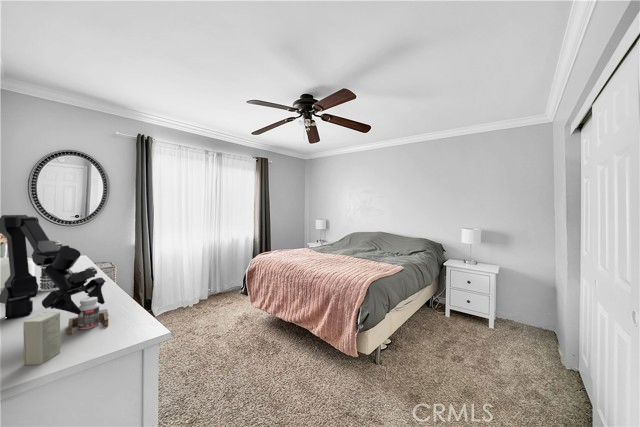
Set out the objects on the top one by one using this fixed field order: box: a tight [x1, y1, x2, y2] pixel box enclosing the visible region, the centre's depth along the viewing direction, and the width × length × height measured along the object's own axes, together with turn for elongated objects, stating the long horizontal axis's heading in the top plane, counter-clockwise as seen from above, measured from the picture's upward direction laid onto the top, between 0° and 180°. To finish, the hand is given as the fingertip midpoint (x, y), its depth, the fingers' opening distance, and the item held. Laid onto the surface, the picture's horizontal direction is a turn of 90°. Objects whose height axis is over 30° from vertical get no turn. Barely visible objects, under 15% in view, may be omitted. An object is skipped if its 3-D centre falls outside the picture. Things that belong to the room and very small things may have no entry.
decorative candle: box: [39, 239, 63, 292], centre depth 133 cm, size 9×9×25 cm
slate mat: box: [99, 308, 109, 317], centre depth 102 cm, size 8×8×1 cm
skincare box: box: [23, 311, 61, 366], centre depth 73 cm, size 6×4×12 cm
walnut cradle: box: [67, 310, 109, 336], centre depth 93 cm, size 10×10×2 cm
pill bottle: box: [77, 296, 100, 330], centre depth 93 cm, size 6×6×10 cm
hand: (92, 308), depth 93 cm, fingers open, 9 cm apart
